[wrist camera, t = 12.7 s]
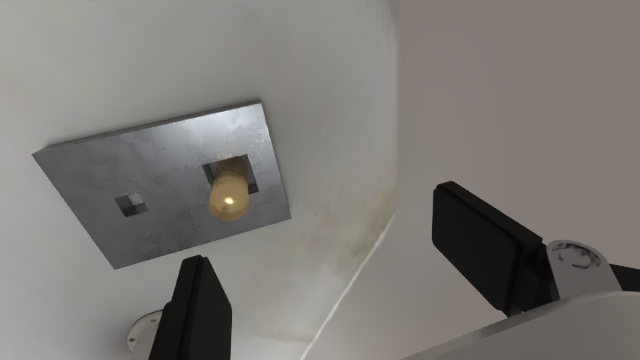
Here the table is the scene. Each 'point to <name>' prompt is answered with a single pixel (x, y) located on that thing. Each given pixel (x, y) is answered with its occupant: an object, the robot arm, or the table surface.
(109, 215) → the plate
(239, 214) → the tan cylinder
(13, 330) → the table surface
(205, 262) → the robot arm
